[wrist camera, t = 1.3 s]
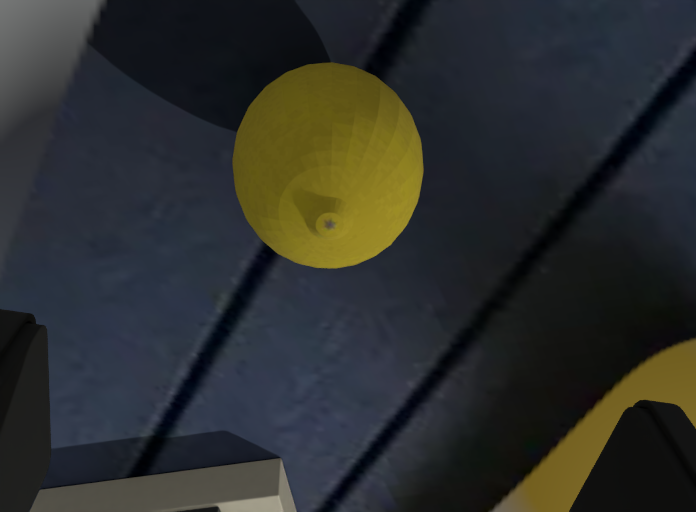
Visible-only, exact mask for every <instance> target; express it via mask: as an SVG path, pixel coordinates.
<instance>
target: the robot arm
mask: <svg viewBox="0 0 696 512" xmlns="http://www.w3.org/2000/svg"><path fill="white" fill-rule="evenodd" d="M50 457H51V433H50V401H49V370H48V338H47V329H46V326H44V325H38V324H36V320H35V317H34V315H32V314H30V313H23V312H16V311H9V310H2V309H0V512H29V510H30V508H31V505H32V503H33V501H34V499H35V497H36V495H37V493H38V491H39V489H40V487H41V484H42V482H43V480H44V478H45V476H46V473H47V470H48V467H49V463H50ZM569 512H696V429H695V427H694V426H693V424H692V423H691V422H690V420H689V419H688V417H687V416H686V414H685V413H684V411H683V410H682V409H681V408H680V407H679V406H677V405H675V404H670V403H663V402H656V401H649V400H640V401H638V402H637V403H635V405H634V406H633V407H629V408H627V409H626V410H625V411H624V412H623V414H622V416H621V418H620V420H619V421H618V423H617V425H616V427H615V429H614V430H613V432H612V434H611V436H610V438H609V439H608V441H607V443H606V445H605V447H604V449H603V450H602V452H601V454H600V456H599V458H598V460H597V461H596V463H595V465H594V467H593V469H592V470H591V472H590V474H589V476H588V478H587V480H586V481H585V483H584V485H583V487H582V489H581V490H580V492H579V494H578V496H577V498H576V500H575V501H574V503H573V505H572V507H571V509H570V511H569Z"/></svg>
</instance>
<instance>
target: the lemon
mask: <svg viewBox="0 0 696 512" xmlns="http://www.w3.org/2000/svg"><path fill="white" fill-rule="evenodd" d="M233 172H234V182H235V189H236V194H237V197H238V199H239V202H240V204H241V207H242V209H243V212H244V214H245V217H246V219H247V221H248V222H249V224H250V225H251V226H252V228H253V229H254V230H255V232H256V233H257V234H258V236H259V237H260V238H261V239H262V241H264V242H265V243H266V244H267V245H268V246H270V247H271V248H272V249H273V250H274V251H275V252H277V253H278V254H280V255H282V256H284V257H286V258H288V259H290V260H292V261H294V262H296V263H299V264H303V265H307V266H312V267H316V268H340V267H345V266H350V265H355V264H358V263H360V262H363V261H365V260H367V259H370V258H372V257H374V256H376V255H377V254H378V253H380V252H381V251H383V250H384V249H385V248H387V247H388V246H389V245H391V244H392V242H393V241H394V240H395V239H396V238H397V236H398V235H399V234H400V233H401V232H402V230H403V229H404V228H405V227H406V226H407V223H408V221H409V219H410V217H411V215H412V213H413V211H414V209H415V207H416V204H417V202H418V198H419V193H420V188H421V183H422V177H423V158H422V146H421V140H420V137H419V134H418V132H417V129H416V126H415V124H414V121H413V118H412V116H411V114H410V112H409V111H408V109H407V108H406V107H405V105H404V104H403V102H402V101H401V100H400V98H399V97H398V96H397V94H396V93H395V92H394V91H393V90H392V89H391V88H389V87H388V86H387V85H386V84H384V83H383V82H382V81H381V80H380V79H378V78H377V77H376V76H374V75H372V74H370V73H367V72H365V71H363V70H361V69H358V68H356V67H354V66H349V65H343V64H337V63H319V64H308V65H305V66H302V67H300V68H297V69H294V70H291V71H288V72H286V73H285V74H283V75H282V76H280V77H279V78H277V79H276V80H274V81H273V82H272V83H270V84H269V85H267V86H266V87H265V88H264V89H263V90H262V91H261V93H260V94H259V95H258V96H257V97H256V99H255V100H254V101H253V102H252V103H251V104H250V106H249V107H248V109H247V111H246V114H245V116H244V118H243V120H242V122H241V124H240V127H239V129H238V131H237V136H236V142H235V148H234V154H233Z"/></svg>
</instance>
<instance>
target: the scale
mask: <svg viewBox="0 0 696 512" xmlns="http://www.w3.org/2000/svg"><path fill="white" fill-rule="evenodd" d="M30 512H297V511H296V508H295V505H294V501H293V498H292V494H291V491H290V487H289V484H288V480H287V477H286V473H285V470H284V467H283V463H282V460H281V458H277V459H270V460H262V461H255V462H247V463H240V464H232V465H224V466H217V467H209V468H202V469H194V470H186V471H179V472H171V473H164V474H156V475H149V476H141V477H133V478H126V479H118V480H111V481H103V482H96V483H88V484H80V485H73V486H65V487H58V488H50V489H42V490H40V491H39V492H38V495H37V497H36V499H35V501H34V503H33V505H32V508H31V510H30Z"/></svg>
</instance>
